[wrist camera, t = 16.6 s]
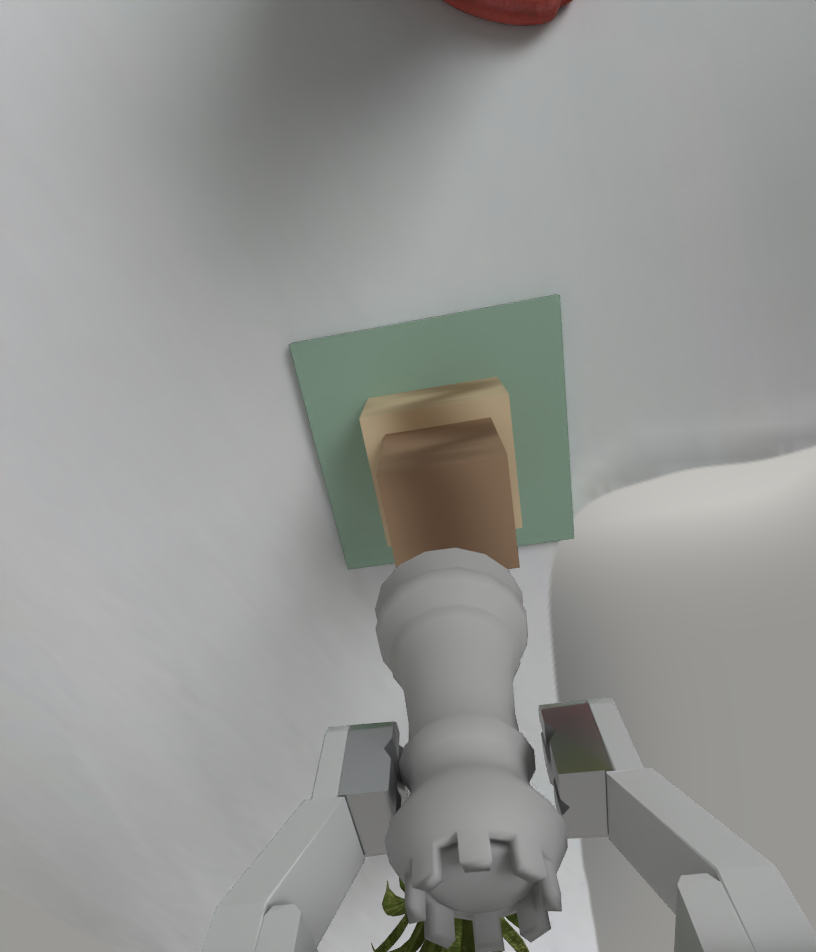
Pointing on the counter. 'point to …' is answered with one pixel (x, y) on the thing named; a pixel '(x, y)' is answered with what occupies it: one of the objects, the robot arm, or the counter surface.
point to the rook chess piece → (466, 753)
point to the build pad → (431, 365)
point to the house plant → (460, 948)
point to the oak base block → (439, 422)
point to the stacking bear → (511, 10)
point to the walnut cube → (448, 491)
